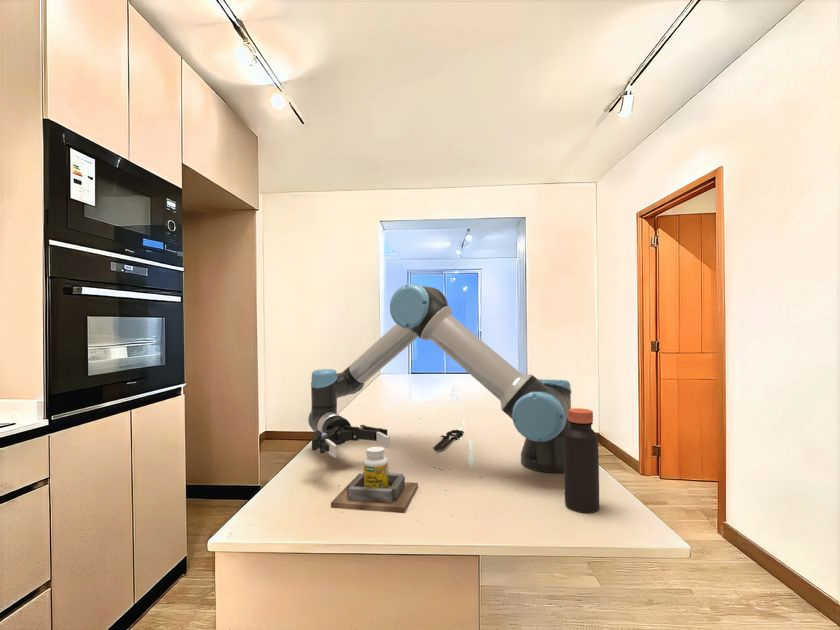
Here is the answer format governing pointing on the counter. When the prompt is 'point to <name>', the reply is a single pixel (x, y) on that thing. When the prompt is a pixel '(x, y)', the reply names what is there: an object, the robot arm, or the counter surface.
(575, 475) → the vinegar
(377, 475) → the supplement bottle
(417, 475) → the counter surface
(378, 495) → the collar board
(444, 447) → the knife
